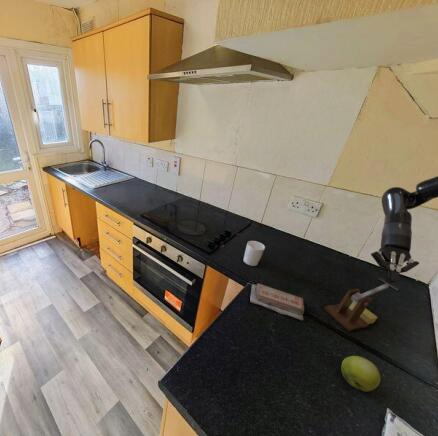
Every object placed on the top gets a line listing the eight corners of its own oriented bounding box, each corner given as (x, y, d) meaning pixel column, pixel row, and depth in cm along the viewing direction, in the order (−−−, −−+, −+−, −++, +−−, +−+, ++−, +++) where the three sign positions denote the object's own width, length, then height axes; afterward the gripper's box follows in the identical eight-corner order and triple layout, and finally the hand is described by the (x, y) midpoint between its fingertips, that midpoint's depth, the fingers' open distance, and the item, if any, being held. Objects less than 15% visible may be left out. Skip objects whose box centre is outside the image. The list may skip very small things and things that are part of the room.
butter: (351, 305, 90) (355, 300, 89) (373, 322, 83) (377, 317, 82) (344, 307, 89) (348, 301, 88) (366, 324, 82) (370, 318, 81)
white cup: (240, 256, 116) (245, 239, 111) (256, 258, 115) (262, 241, 111) (244, 265, 109) (249, 248, 104) (261, 268, 108) (267, 250, 104)
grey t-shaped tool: (381, 280, 84) (382, 275, 83) (400, 292, 79) (402, 287, 78) (345, 295, 83) (346, 291, 82) (362, 308, 78) (363, 304, 77)
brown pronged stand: (341, 305, 90) (355, 282, 85) (367, 327, 81) (385, 303, 76) (323, 308, 88) (336, 285, 82) (348, 331, 79) (365, 307, 74)
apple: (373, 381, 65) (388, 364, 61) (368, 405, 59) (384, 388, 55) (340, 359, 70) (352, 343, 66) (332, 380, 64) (345, 363, 61)
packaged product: (303, 294, 87) (307, 312, 79) (299, 303, 90) (302, 321, 82) (254, 277, 94) (253, 293, 86) (251, 286, 96) (249, 302, 88)
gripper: (380, 229, 84) (375, 273, 79) (428, 239, 79) (425, 287, 75) (367, 235, 90) (362, 276, 86) (411, 244, 86) (408, 289, 81)
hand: (391, 281), depth 80 cm, fingers closed
